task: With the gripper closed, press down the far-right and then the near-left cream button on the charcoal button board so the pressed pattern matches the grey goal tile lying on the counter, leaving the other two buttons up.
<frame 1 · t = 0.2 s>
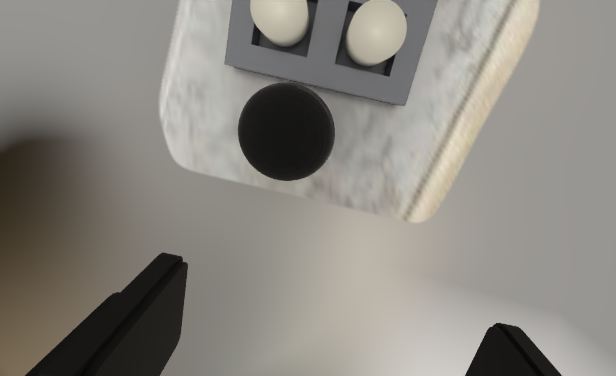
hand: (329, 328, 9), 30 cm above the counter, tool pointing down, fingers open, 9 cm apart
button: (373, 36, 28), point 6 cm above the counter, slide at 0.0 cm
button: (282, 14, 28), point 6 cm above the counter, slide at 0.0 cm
microphone: (301, 117, 37), on the counter
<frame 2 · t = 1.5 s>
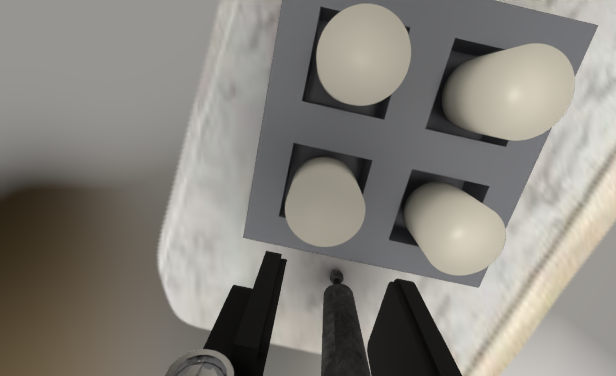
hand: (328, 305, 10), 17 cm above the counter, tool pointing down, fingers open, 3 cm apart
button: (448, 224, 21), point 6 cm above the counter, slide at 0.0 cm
board: (386, 137, 25), on the counter
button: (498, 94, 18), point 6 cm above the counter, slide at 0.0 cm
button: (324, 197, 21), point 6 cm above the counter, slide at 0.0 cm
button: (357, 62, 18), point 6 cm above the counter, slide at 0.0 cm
microphone: (336, 272, 30), on the counter
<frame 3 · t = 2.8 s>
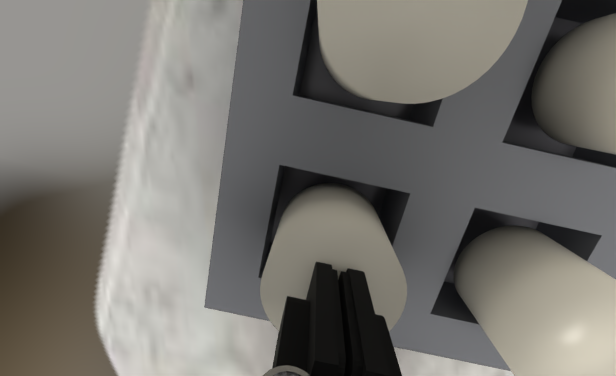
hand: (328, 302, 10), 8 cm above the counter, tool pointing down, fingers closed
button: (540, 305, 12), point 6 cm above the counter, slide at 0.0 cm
board: (424, 151, 17), on the counter
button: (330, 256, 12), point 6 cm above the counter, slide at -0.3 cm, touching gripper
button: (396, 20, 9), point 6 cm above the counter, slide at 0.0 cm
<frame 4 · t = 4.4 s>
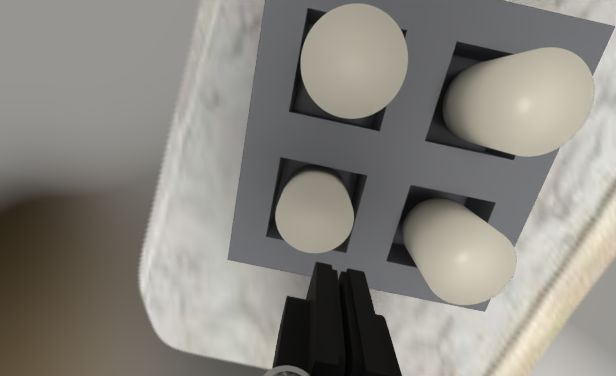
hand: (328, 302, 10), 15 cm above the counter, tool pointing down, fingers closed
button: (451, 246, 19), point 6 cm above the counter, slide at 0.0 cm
board: (383, 149, 23), on the counter
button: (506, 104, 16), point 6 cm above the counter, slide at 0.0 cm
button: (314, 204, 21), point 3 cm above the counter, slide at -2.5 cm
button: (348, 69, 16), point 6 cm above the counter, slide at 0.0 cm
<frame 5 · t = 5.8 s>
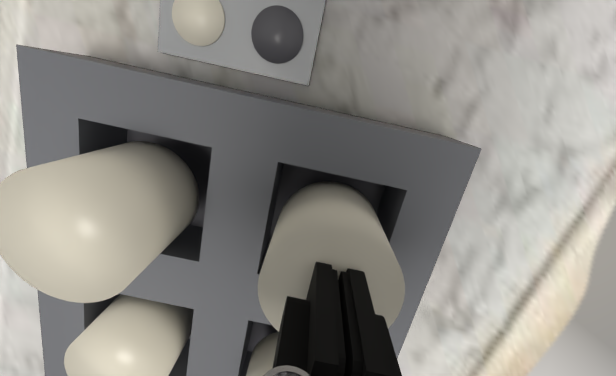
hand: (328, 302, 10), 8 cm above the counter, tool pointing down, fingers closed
board: (243, 252, 19), on the counter
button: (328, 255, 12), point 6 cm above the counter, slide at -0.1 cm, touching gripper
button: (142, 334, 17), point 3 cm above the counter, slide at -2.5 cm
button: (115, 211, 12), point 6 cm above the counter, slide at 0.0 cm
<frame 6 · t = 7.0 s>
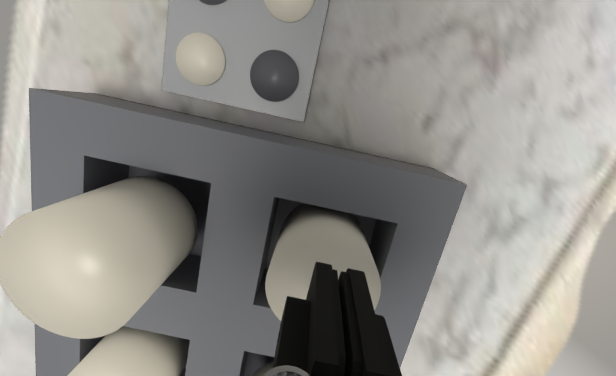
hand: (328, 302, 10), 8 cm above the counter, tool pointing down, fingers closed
board: (240, 281, 20), on the counter
goal tile: (246, 30, 16), on the counter
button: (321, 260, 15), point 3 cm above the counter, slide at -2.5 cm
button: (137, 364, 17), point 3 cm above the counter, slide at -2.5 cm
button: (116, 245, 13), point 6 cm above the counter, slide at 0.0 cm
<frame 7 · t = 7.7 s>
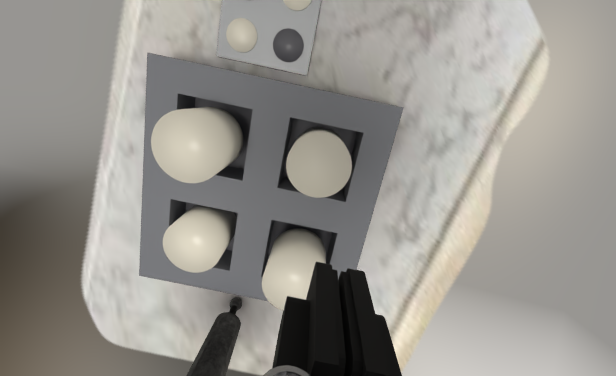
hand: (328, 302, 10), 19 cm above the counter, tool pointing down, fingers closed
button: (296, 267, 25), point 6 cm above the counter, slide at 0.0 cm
board: (265, 187, 29), on the counter
goal tile: (270, 16, 25), on the counter
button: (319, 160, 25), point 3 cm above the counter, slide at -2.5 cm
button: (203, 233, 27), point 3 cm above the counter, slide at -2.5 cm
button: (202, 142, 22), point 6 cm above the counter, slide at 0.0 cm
microphone: (237, 299, 34), on the counter
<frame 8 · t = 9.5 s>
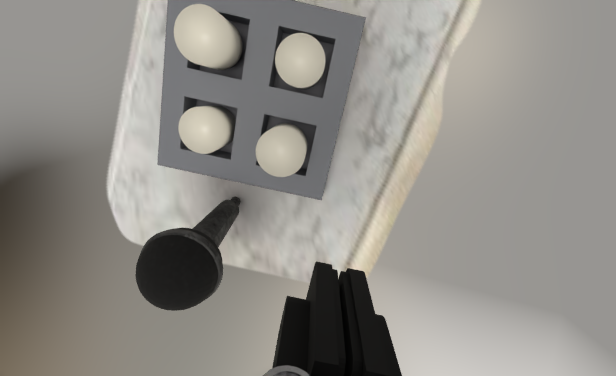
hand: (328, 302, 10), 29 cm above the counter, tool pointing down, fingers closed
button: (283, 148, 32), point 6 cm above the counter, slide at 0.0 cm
board: (260, 97, 36), on the counter
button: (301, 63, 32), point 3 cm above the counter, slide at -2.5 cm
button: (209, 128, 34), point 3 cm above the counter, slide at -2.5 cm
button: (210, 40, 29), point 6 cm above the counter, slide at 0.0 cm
microphone: (236, 199, 41), on the counter
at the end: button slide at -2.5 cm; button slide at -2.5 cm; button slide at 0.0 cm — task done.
